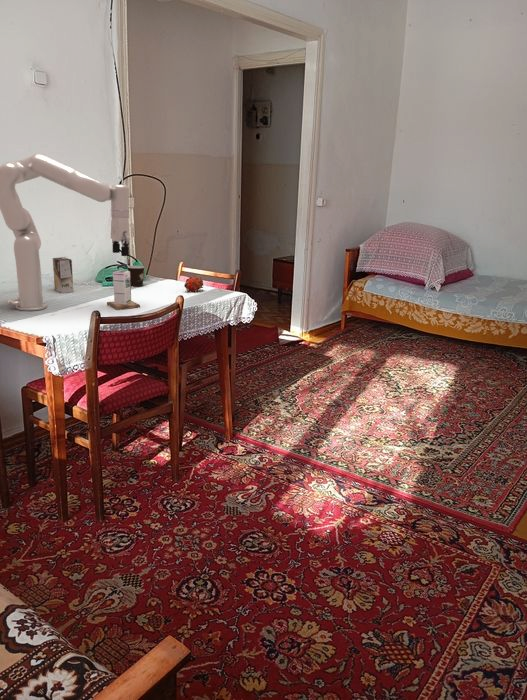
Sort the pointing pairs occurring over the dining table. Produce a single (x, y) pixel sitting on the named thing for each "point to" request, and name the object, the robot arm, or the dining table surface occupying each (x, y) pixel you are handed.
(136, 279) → the coffee mug
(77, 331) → the dining table surface
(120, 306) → the walnut board
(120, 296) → the syrup box
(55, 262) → the coffee box
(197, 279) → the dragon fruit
